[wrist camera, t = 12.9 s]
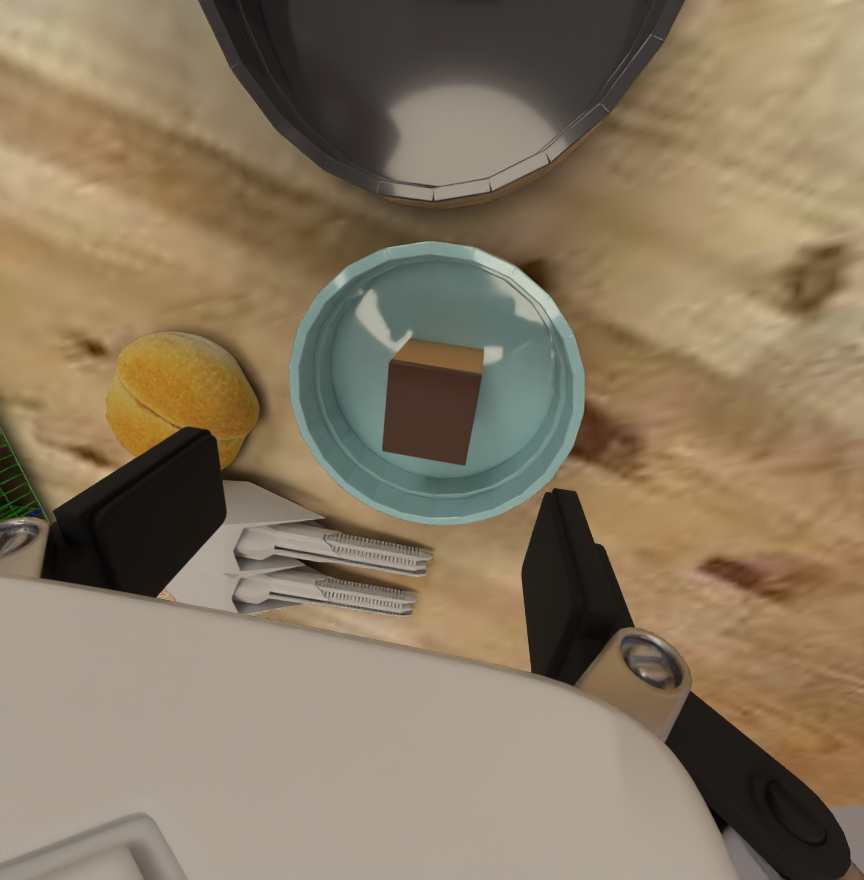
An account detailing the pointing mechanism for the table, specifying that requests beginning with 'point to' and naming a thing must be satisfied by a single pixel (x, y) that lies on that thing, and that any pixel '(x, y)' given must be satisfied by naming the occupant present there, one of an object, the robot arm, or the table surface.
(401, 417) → the snack cake
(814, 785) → the table surface
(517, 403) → the blue bowl
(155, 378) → the bread roll
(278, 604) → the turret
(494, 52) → the charcoal bowl
